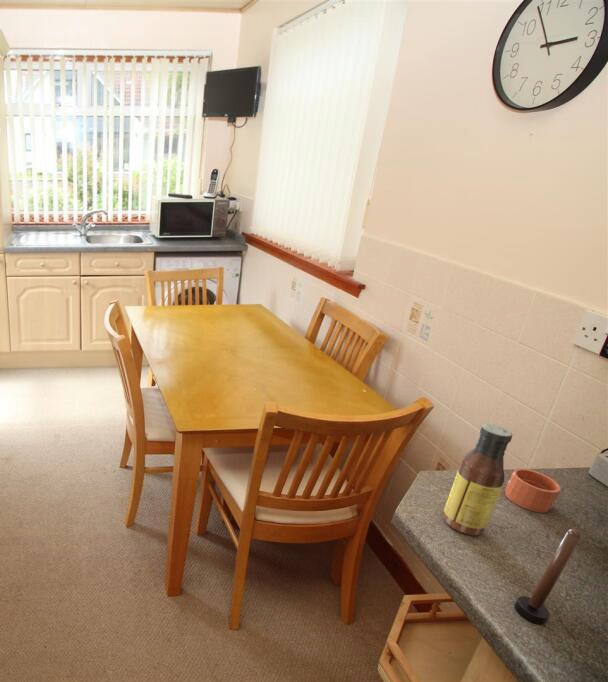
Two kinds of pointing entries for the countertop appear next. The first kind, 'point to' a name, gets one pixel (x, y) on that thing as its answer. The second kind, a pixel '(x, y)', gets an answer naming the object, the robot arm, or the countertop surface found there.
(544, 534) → the countertop surface
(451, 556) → the countertop surface
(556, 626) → the countertop surface
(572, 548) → the toilet plunger
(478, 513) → the sauce bottle
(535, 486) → the bowl
